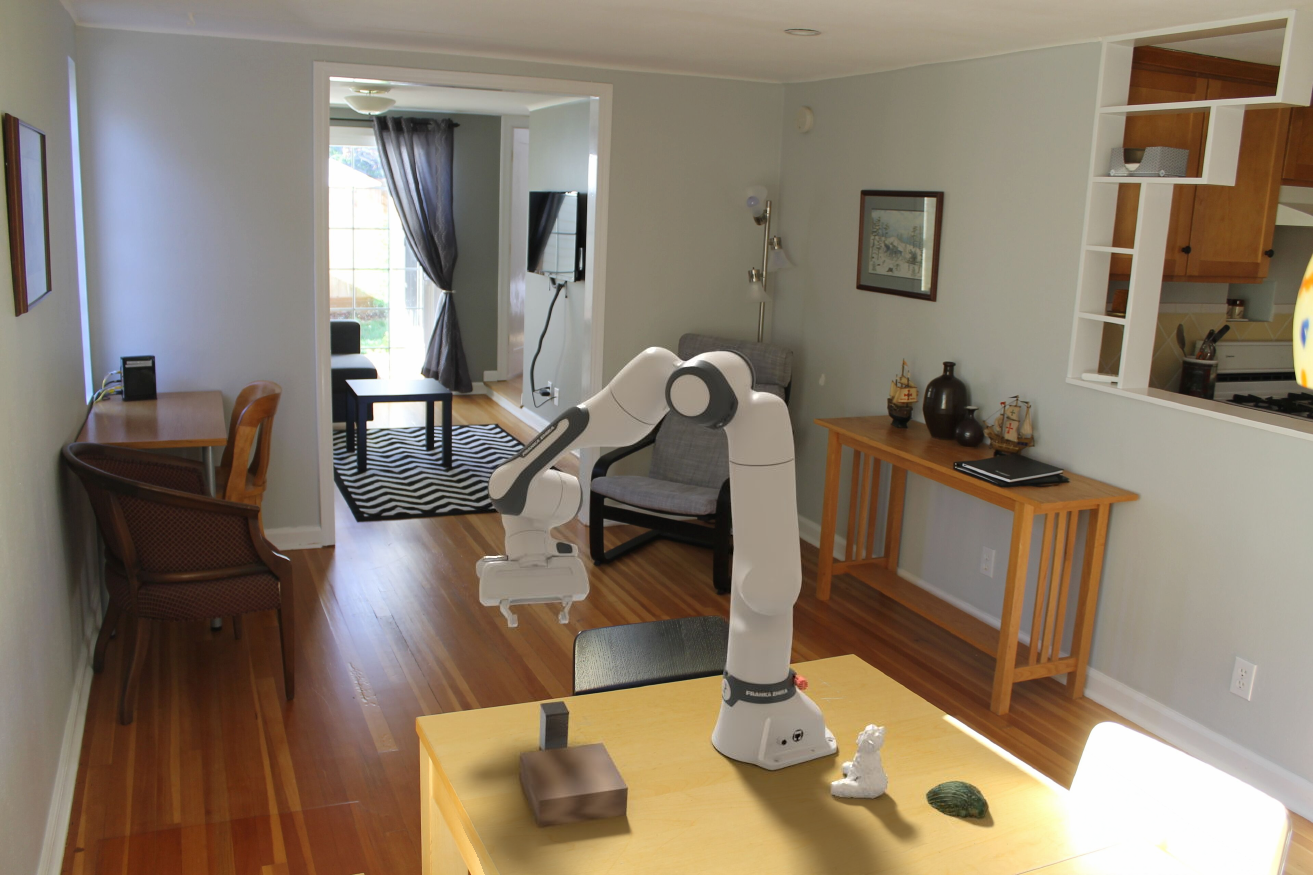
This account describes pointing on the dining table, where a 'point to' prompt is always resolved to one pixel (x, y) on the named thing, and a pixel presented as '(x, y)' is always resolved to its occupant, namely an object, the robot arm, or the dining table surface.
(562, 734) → the grey tin
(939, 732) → the dining table surface
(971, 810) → the seashell
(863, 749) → the seated beast figurine
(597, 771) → the walnut block
